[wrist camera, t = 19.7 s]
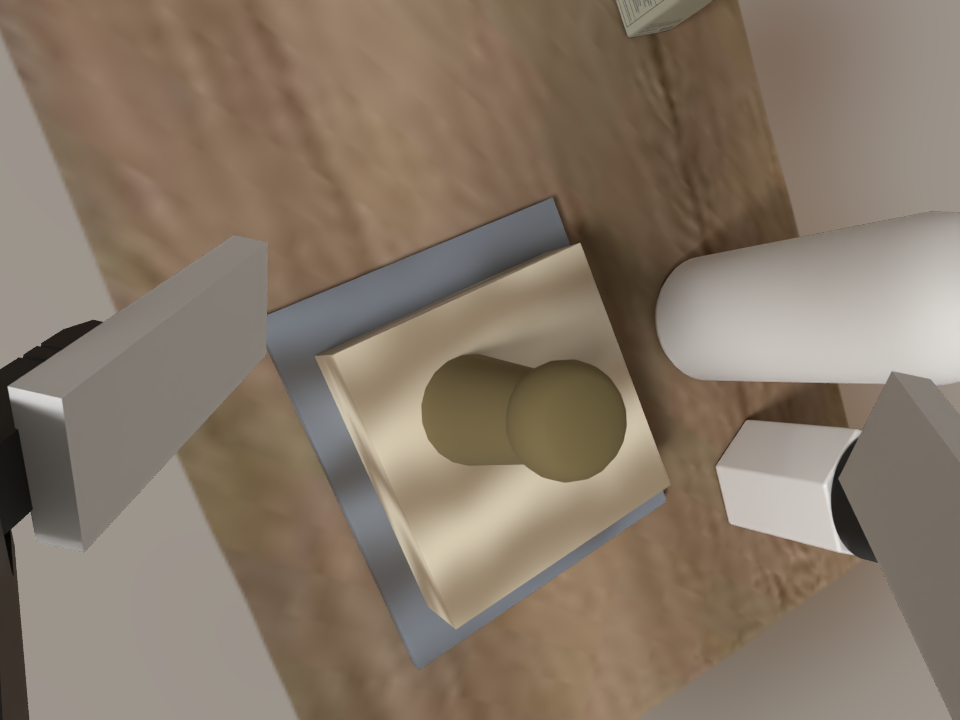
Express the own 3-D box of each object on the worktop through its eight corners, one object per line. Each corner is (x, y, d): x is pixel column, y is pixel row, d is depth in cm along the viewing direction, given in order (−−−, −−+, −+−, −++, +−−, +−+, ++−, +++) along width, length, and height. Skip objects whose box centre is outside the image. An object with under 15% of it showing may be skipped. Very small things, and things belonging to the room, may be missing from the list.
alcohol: (630, 344, 49) (1230, 315, 22) (676, 235, 51) (1281, 87, 24) (717, 400, 53) (1330, 435, 26) (757, 296, 55) (1368, 226, 28)
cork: (398, 416, 37) (495, 433, 27) (469, 330, 39) (584, 316, 29) (477, 488, 39) (595, 528, 29) (541, 403, 41) (673, 414, 31)
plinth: (254, 320, 39) (269, 314, 34) (546, 200, 47) (588, 183, 42) (414, 664, 42) (445, 698, 38) (659, 499, 50) (708, 511, 46)
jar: (757, 556, 54) (912, 603, 44) (696, 488, 52) (844, 520, 41) (814, 464, 57) (973, 487, 46) (758, 395, 55) (912, 402, 44)
